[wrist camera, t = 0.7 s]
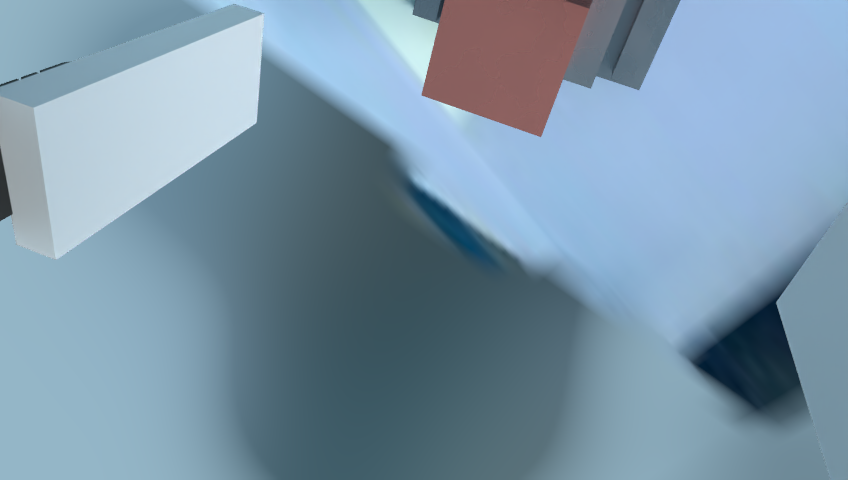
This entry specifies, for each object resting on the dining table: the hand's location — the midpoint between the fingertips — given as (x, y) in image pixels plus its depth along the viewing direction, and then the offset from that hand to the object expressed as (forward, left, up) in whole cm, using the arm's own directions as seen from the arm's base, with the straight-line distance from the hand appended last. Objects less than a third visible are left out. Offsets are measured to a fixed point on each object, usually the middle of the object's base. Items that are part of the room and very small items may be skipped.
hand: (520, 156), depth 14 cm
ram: (0, -2, -21) cm, 21 cm away
